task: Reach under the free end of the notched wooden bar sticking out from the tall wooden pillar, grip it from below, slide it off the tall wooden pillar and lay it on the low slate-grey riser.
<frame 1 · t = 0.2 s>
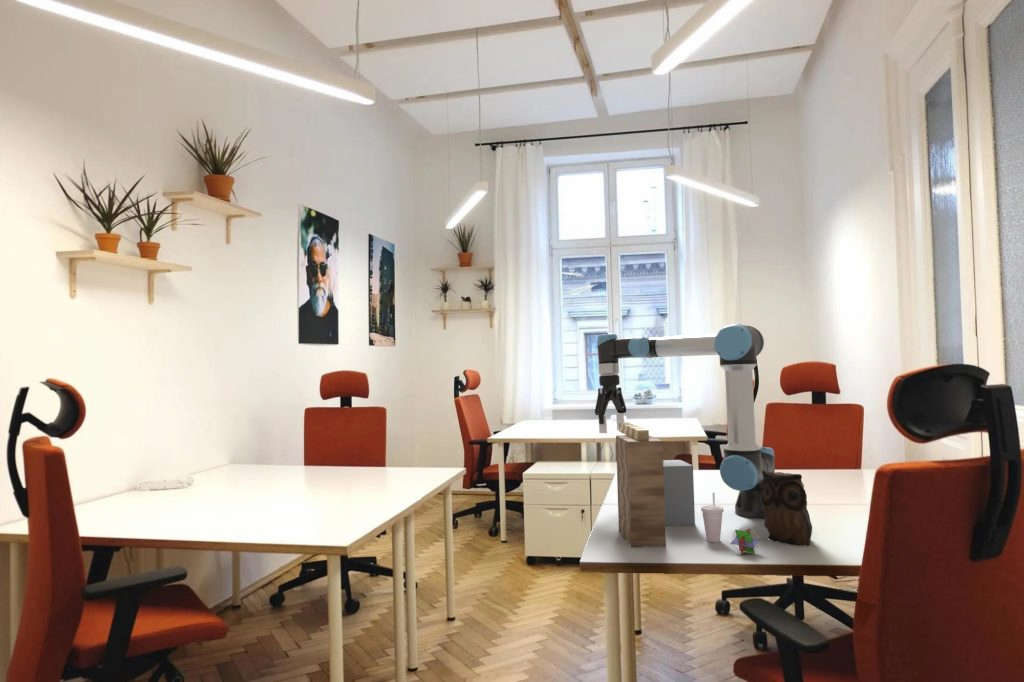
hand: (612, 431, 247), 27 cm above the table, tool pointing down, fingers open, 13 cm apart
owl: (793, 540, 192), on the table
smoothie: (713, 541, 194), on the table
geometric puzzle: (745, 554, 180), on the table
riser: (673, 520, 220), on the table
notched wooden bar: (633, 435, 206), point 30 cm above the table, touching tall wooden pillar
tall wooden pillar: (641, 538, 198), on the table
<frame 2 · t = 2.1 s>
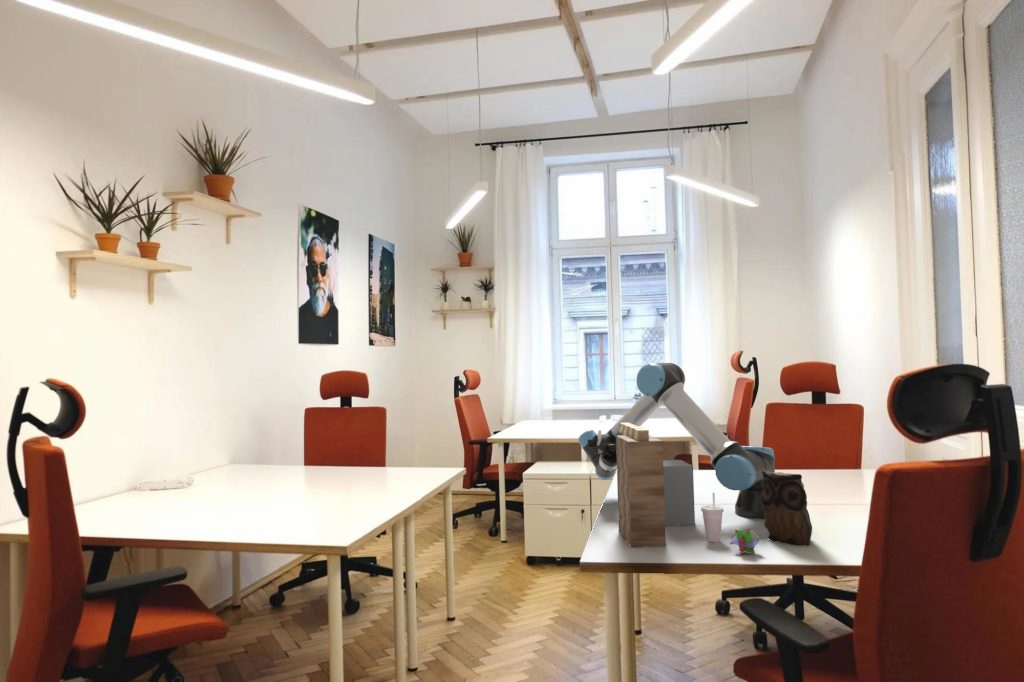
hand: (619, 433, 227), 29 cm above the table, tool pointing upward, fingers open, 13 cm apart
nothing on the table moved.
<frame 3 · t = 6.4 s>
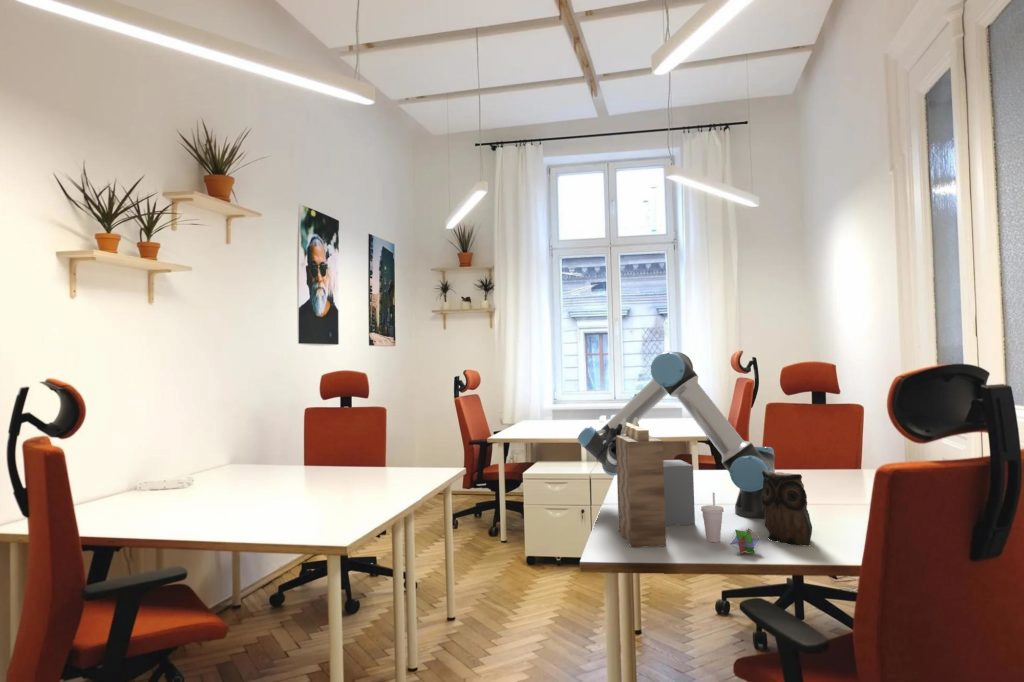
hand: (630, 421, 209), 34 cm above the table, tool pointing upward, fingers closed on notched wooden bar, 3 cm apart
notched wooden bar: (633, 435, 206), point 30 cm above the table, touching gripper, tall wooden pillar
everything else where it was.
when the fingers open (26 cm above the table, at t = 15.1 s): notched wooden bar drops 2 cm, resting on riser.
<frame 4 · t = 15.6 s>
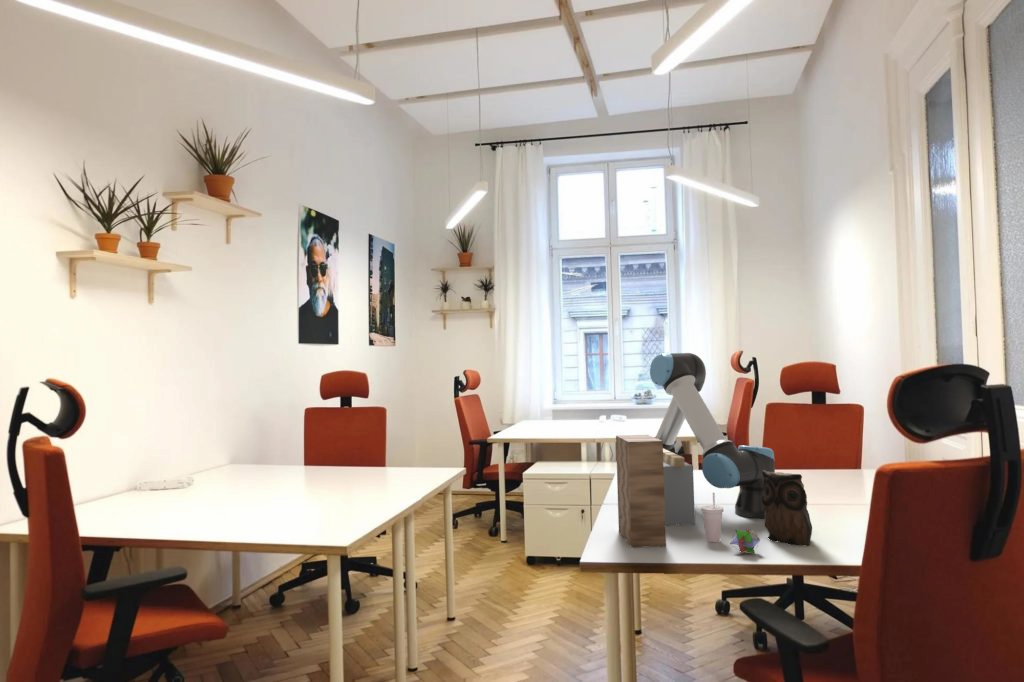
hand: (664, 442, 229), 25 cm above the table, tool pointing upward, fingers open, 10 cm apart
notched wooden bar: (667, 461, 225), point 19 cm above the table, touching riser
everything else where it was.
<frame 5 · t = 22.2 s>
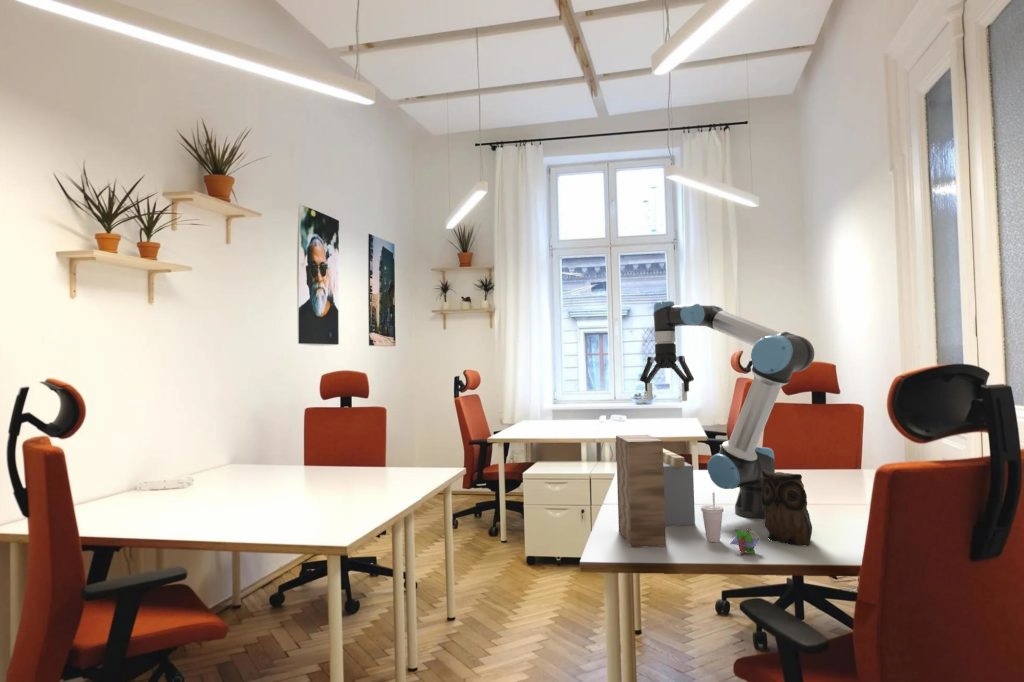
hand: (667, 400, 243), 39 cm above the table, tool pointing down, fingers open, 13 cm apart
nothing on the table moved.
at the end: notched wooden bar inside the target area on the riser (0.5 cm from its centre), point 19.0 cm above the riser's base; notched wooden bar touching riser; the gripper is holding nothing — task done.
